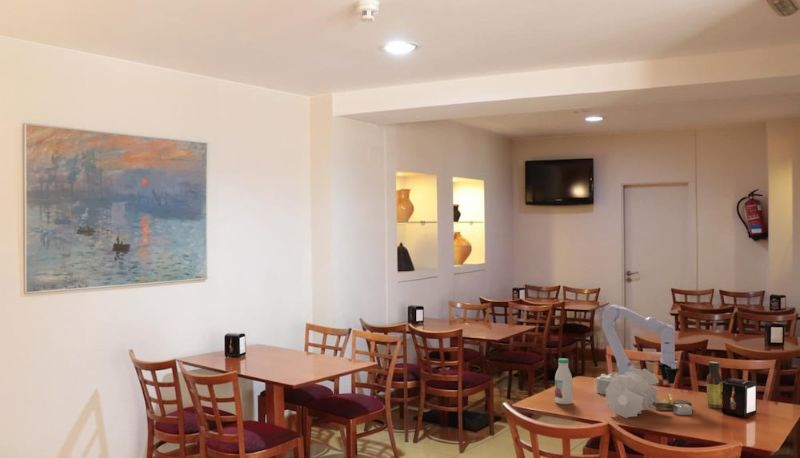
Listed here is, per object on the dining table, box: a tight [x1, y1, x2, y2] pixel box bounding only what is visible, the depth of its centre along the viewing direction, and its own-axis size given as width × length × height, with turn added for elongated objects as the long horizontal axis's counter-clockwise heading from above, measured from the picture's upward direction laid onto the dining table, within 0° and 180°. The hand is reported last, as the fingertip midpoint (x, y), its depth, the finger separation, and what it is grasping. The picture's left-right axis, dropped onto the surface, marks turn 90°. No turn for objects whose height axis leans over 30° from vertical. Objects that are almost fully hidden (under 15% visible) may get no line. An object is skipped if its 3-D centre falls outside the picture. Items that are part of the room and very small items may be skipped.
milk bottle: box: [554, 357, 573, 405], centre depth 296 cm, size 8×8×20 cm
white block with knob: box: [672, 404, 693, 416], centre depth 277 cm, size 6×4×4 cm
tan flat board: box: [652, 398, 693, 411], centre depth 285 cm, size 16×6×3 cm, turn 87°
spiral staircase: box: [605, 368, 660, 419], centre depth 279 cm, size 18×18×25 cm
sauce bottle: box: [706, 361, 723, 409], centre depth 286 cm, size 7×6×20 cm
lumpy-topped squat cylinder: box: [596, 373, 619, 396], centre depth 315 cm, size 10×13×9 cm
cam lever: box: [667, 393, 675, 405], centre depth 282 cm, size 8×2×2 cm, turn 161°
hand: (668, 381), depth 293 cm, fingers open, 7 cm apart
